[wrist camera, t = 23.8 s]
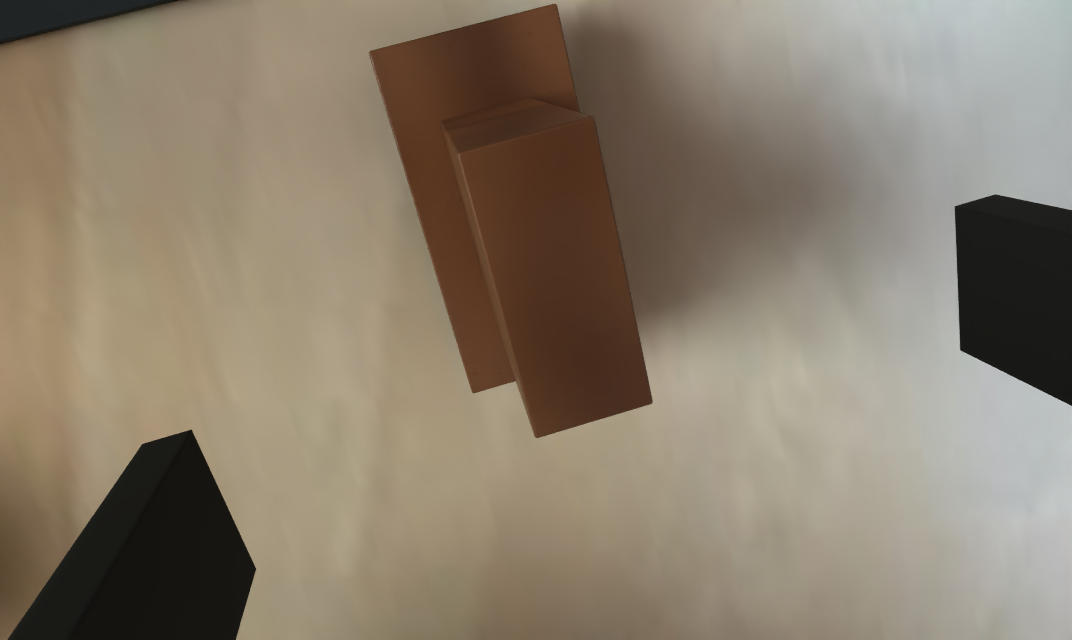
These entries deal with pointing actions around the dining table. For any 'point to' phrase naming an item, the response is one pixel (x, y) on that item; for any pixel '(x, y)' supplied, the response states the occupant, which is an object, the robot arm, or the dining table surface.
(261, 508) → the dining table surface
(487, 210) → the scrub brush
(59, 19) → the mat
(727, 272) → the dining table surface
